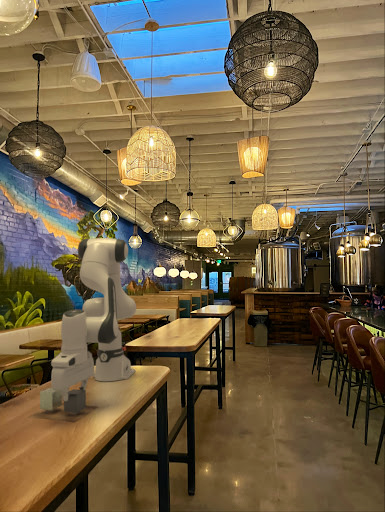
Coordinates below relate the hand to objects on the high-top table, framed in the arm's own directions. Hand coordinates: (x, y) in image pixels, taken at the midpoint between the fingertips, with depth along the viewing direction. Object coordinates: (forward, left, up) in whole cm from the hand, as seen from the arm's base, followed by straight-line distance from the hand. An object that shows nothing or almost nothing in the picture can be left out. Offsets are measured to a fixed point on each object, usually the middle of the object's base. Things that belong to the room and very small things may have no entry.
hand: (74, 395), depth 129 cm
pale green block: (0, -10, -6) cm, 11 cm away
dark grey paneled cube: (0, 0, -5) cm, 5 cm away
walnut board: (-1, -5, -7) cm, 9 cm away
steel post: (0, 0, -6) cm, 6 cm away
